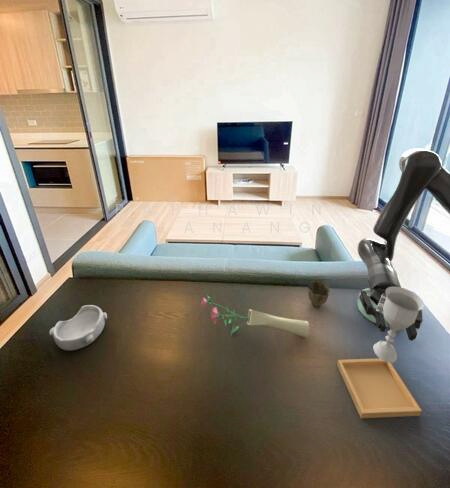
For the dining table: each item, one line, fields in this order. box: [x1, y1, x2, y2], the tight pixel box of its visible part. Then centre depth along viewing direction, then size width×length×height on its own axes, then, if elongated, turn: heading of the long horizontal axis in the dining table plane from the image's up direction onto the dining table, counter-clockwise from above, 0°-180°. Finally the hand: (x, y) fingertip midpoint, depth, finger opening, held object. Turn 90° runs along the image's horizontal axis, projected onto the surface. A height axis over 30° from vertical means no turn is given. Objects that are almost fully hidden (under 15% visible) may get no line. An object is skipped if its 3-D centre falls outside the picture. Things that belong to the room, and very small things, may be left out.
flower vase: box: [200, 292, 311, 339], centre depth 80 cm, size 12×12×35 cm
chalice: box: [372, 286, 425, 364], centre depth 58 cm, size 7×7×18 cm
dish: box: [49, 304, 108, 351], centre depth 79 cm, size 14×14×5 cm
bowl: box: [356, 287, 389, 328], centre depth 87 cm, size 13×13×4 cm
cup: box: [307, 279, 331, 308], centre depth 90 cm, size 8×7×8 cm
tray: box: [336, 357, 423, 419], centre depth 65 cm, size 15×13×2 cm
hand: (397, 333), depth 55 cm, fingers closed on chalice, 5 cm apart
